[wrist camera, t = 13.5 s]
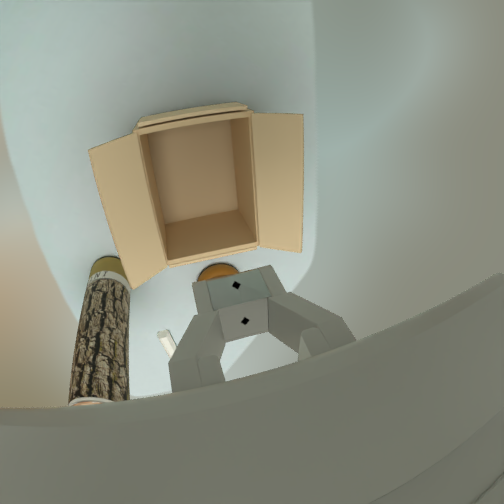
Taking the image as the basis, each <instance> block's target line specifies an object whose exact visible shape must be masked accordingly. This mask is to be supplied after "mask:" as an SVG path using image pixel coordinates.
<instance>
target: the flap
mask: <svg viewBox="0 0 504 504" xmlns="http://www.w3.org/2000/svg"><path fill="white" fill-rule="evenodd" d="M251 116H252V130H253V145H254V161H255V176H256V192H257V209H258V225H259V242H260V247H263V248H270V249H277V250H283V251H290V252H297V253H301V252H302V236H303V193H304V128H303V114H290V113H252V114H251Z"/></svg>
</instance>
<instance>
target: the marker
mask: <svg viewBox="0 0 504 504" xmlns="http://www.w3.org/2000/svg"><path fill="white" fill-rule="evenodd" d="M157 336H158V338H159V340H160V342H161V343H162V345H163V347H164V349H165V351H166V352H167V354H168V356H169V358H170V359H171V357H172V355H173V353H174V352H175V350H176V348H177V347H176V345H175V343H174V341H173V339H172V337H171V335H170V333H169V332H168V331H167V330H163V331H159V332H158V334H157Z"/></svg>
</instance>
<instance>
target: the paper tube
mask: <svg viewBox="0 0 504 504" xmlns="http://www.w3.org/2000/svg"><path fill="white" fill-rule="evenodd" d="M130 288H131V287H130V284H129V281H128V279H127V276H126V274H125V271H124V268H123V266H122V263H121V260H119V259H117V258H113V257H105V258H102V259H99V260H98V261H96V262H95V263H94V265H93V266H92V269H91V272H90V276H89V280H88V284H87V288H86V292H85V296H84V301H83V306H82V310H81V315H80V320H79V326H78V332H77V337H76V343H75V349H74V356H73V363H72V371H71V380H70V389H69V401H68V406H77V405H89V404H100V403H109V402H118V401H125V400H130V393H129V310H130Z"/></svg>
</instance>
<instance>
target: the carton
mask: <svg viewBox="0 0 504 504" xmlns="http://www.w3.org/2000/svg"><path fill="white" fill-rule="evenodd" d="M252 113H254V111H253V110H250V109H248V108H247V105H244V104H241V103H238V102H231V103H223V104H215V105H207V106H200V107H194V108H188V109H182V110H176V111H170V112H165V113H160V114H155V115H150V116H146V117H141V118H140V120H139V121H138V123H137V124H136V126H135V127H134V129H133V133H137V137H138V143H139V148H140V154H141V159H142V164H143V169H144V173H145V178H146V183H147V188H148V192H149V196H150V201H151V205H152V209H153V214H154V218H155V222H156V226H157V230H158V234H159V238H160V242H161V245H162V249H163V253H164V256H165V260H166V264H167V265H169V267H170V268H172V267H177V266H182V265H186V264H191V263H196V262H200V261H205V260H209V259H214V258H219V257H223V256H228V255H233V254H237V253H242V252H247V251H251V250H256V249H257V246H260V242H259V225H258V209H257V192H256V176H255V161H254V145H253V130H252V116H251V114H252Z"/></svg>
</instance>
